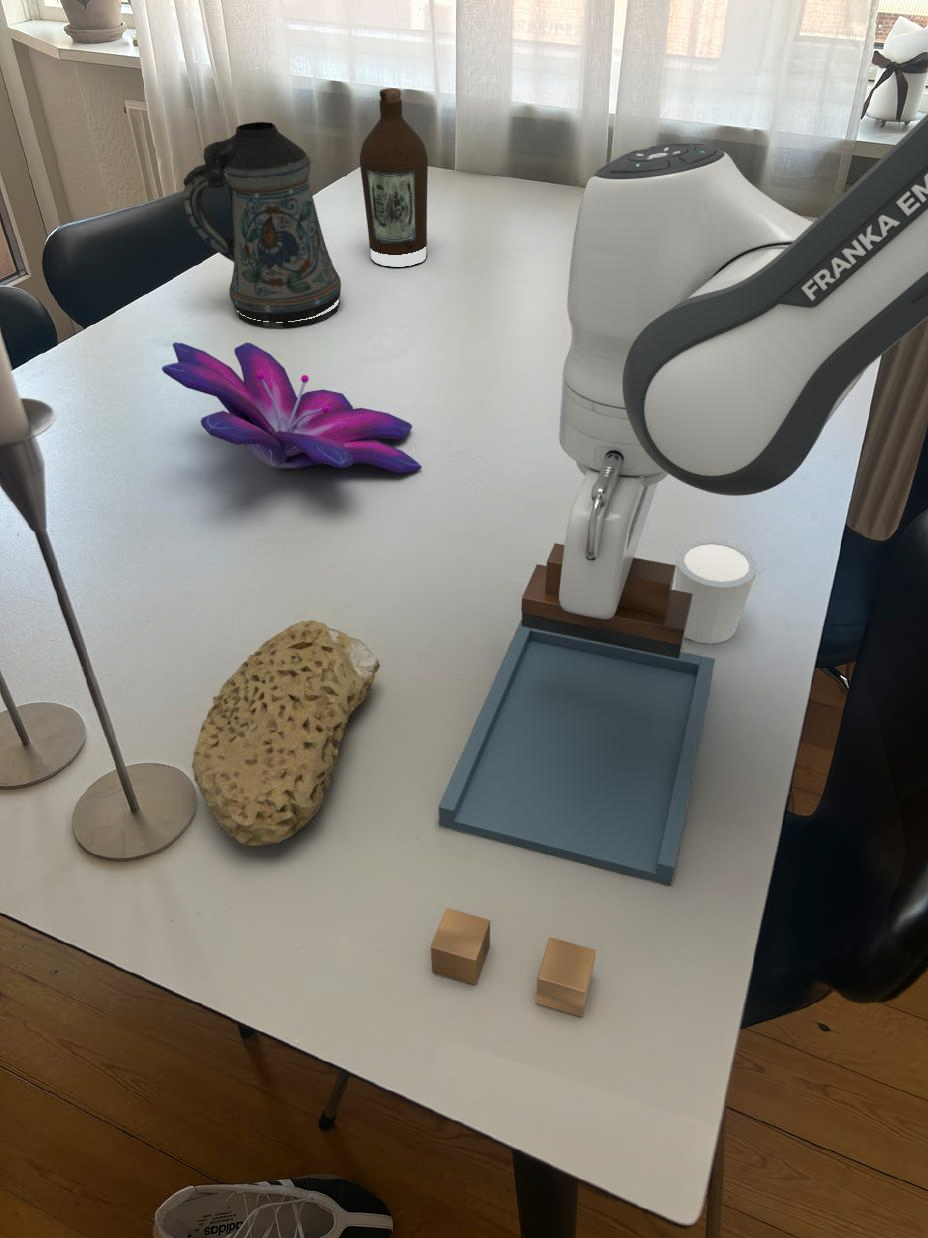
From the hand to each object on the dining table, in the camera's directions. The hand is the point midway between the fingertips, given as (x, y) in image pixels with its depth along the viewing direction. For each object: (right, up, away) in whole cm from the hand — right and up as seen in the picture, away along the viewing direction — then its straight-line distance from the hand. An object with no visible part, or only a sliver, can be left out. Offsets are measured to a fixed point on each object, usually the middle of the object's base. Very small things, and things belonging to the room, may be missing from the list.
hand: (609, 587), depth 71 cm
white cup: (+11, -3, +17) cm, 21 cm away
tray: (-1, -12, +6) cm, 14 cm away
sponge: (-24, -13, +5) cm, 28 cm away
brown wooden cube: (-11, -23, -9) cm, 27 cm away
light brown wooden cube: (-4, -25, -11) cm, 27 cm away
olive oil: (-22, +58, +90) cm, 109 cm away
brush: (0, -3, +2) cm, 4 cm away
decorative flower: (-29, +16, +40) cm, 53 cm away
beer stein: (-38, +44, +73) cm, 94 cm away
